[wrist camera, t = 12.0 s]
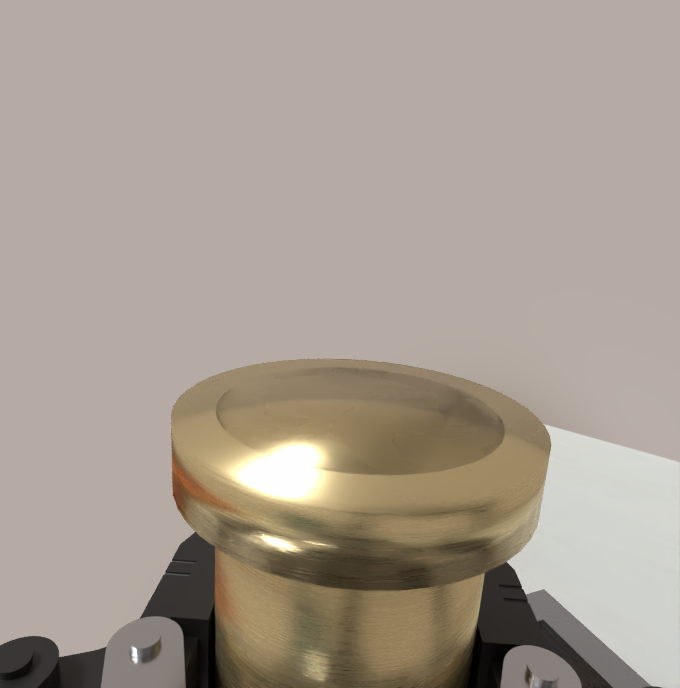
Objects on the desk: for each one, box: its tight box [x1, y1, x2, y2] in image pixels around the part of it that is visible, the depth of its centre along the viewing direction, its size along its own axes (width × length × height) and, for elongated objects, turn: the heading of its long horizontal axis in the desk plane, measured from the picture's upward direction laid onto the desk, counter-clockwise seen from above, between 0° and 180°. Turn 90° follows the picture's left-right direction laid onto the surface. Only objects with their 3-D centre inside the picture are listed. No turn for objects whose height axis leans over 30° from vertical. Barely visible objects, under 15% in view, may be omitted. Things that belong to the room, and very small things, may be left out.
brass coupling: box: [171, 359, 551, 688], centre depth 11 cm, size 6×6×12 cm
